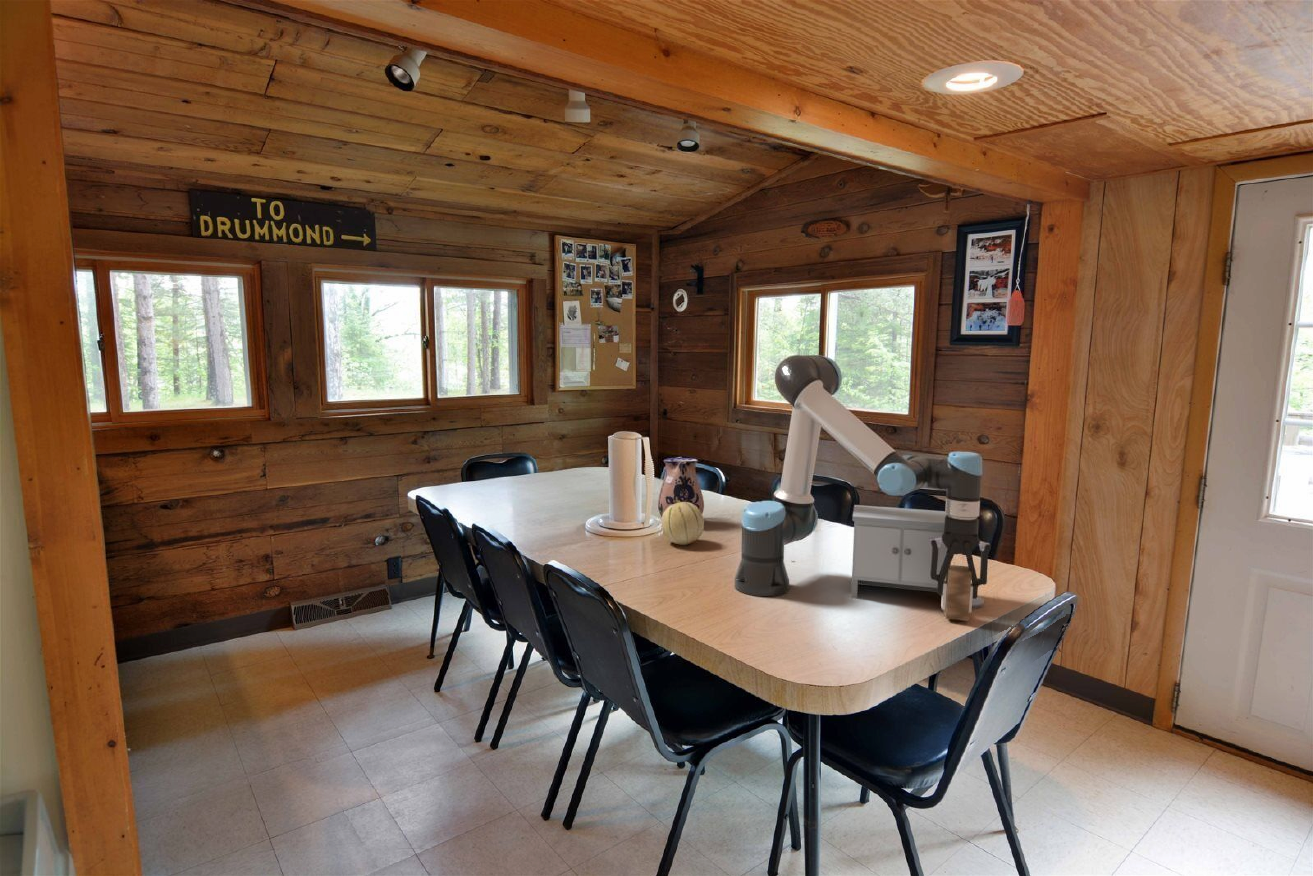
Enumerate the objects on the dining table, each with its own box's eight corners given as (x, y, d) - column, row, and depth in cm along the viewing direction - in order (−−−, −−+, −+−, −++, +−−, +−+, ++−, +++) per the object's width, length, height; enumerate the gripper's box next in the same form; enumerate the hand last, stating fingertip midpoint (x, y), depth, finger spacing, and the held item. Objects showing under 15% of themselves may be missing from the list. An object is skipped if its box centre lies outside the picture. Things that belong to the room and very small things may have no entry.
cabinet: (848, 599, 182) (852, 517, 179) (851, 580, 197) (854, 504, 194) (950, 610, 174) (956, 525, 171) (944, 590, 189) (949, 511, 187)
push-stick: (945, 618, 166) (949, 570, 165) (935, 590, 186) (938, 547, 184) (968, 620, 165) (971, 572, 163) (955, 591, 184) (958, 548, 183)
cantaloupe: (701, 550, 226) (702, 506, 224) (658, 548, 228) (658, 504, 227) (705, 539, 241) (706, 497, 239) (664, 537, 243) (664, 495, 241)
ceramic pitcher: (663, 531, 252) (663, 463, 249) (652, 517, 272) (652, 455, 269) (709, 529, 255) (710, 462, 252) (694, 516, 276) (695, 454, 273)
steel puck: (955, 607, 177) (955, 600, 177) (952, 598, 184) (952, 591, 183) (985, 610, 175) (985, 603, 175) (981, 601, 181) (981, 594, 181)
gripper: (922, 516, 164) (917, 610, 167) (1006, 522, 159) (999, 619, 161) (920, 510, 171) (915, 599, 174) (1000, 515, 166) (994, 608, 168)
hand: (956, 609), depth 168 cm, fingers closed on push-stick, 5 cm apart
